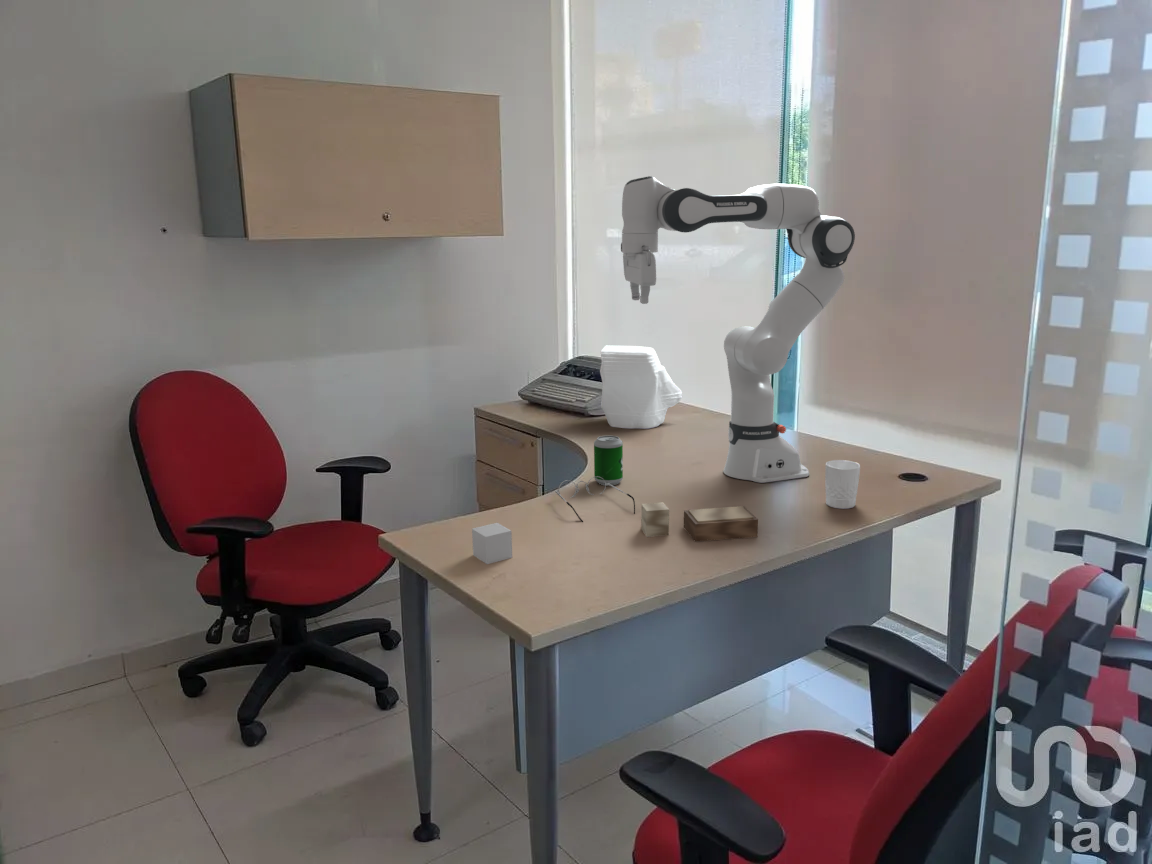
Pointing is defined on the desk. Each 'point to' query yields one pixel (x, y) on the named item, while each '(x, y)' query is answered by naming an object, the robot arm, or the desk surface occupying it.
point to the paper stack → (635, 387)
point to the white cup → (841, 483)
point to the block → (655, 519)
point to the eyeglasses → (589, 493)
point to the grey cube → (492, 543)
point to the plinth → (720, 523)
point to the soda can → (608, 460)
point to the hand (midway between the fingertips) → (639, 301)
